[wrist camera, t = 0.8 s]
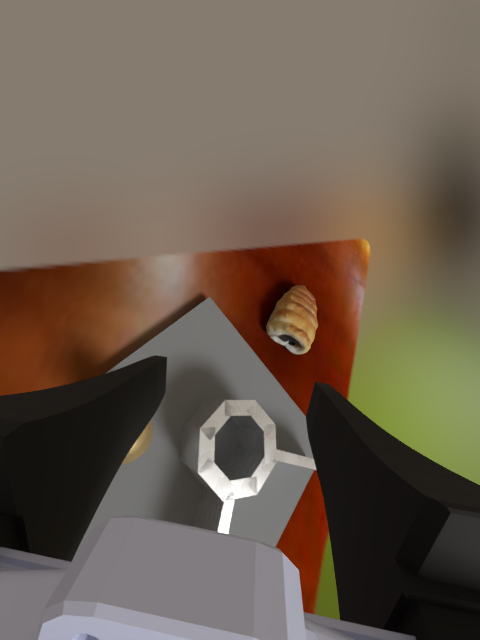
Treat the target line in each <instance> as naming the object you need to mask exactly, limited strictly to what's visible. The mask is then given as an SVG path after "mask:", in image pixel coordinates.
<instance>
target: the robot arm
mask: <svg viewBox="0 0 480 640" xmlns="http://www.w3.org/2000/svg"><path fill="white" fill-rule="evenodd" d="M166 372H167V357H163V356H157V355H154V356H151V357H148V358H145V359H142V360H140V361H137V362H135V363H132V364H130V365H127V366H125V367H122V368H120V369H117V370H114V371H111V372H109V373H106V374H103V375H100V376H97V377H94V378H91V379H87V380H84V381H80V382H76V383H72V384H68V385H64V386H59V387H54V388H49V389H44V390H39V391H33V392H26V393H19V394H12V395H4V396H0V640H480V485H478V484H476V483H474V482H472V481H470V480H468V479H466V478H464V477H462V476H460V475H458V474H456V473H454V472H452V471H450V470H448V469H447V468H445V467H443V466H441V465H439V464H437V463H435V462H434V461H432V460H430V459H429V458H427V457H425V456H423V455H422V454H420V453H418V452H417V451H415V450H413V449H412V448H410V447H409V446H407V445H405V444H404V443H402V442H401V441H399V440H398V439H396V438H395V437H393V436H392V435H390V434H389V433H387V432H386V431H385V430H383V429H382V428H380V427H379V426H378V425H377V424H376V423H374V422H373V421H372V420H370V419H369V418H368V417H367V416H365V415H364V414H363V413H362V412H361V411H359V410H358V409H357V408H356V407H355V406H353V405H352V404H351V403H350V402H349V401H348V400H347V399H345V398H344V397H343V396H342V395H341V394H340V393H339V392H337V391H336V390H335V389H334V388H333V387H331V386H330V385H329V384H324V383H318V382H315V385H314V389H313V392H312V396H311V400H310V404H309V408H308V412H307V416H306V423H307V432H308V439H309V443H310V447H311V450H312V454H313V458H314V462H315V466H316V469H317V473H318V477H319V481H320V484H321V488H322V493H323V497H324V503H325V509H326V515H327V521H328V527H329V534H330V541H331V547H332V555H333V562H334V570H335V578H336V586H337V594H338V603H339V612H340V620H337V619H332V618H328V617H323V616H318V615H314V614H309V613H305V612H303V605H302V596H301V586H300V577H299V570H298V569H297V568H296V567H295V566H294V565H293V563H292V562H291V561H290V560H289V559H288V558H287V557H286V556H285V555H284V554H283V553H282V552H281V551H280V550H279V549H278V548H275V547H273V546H270V545H268V544H265V543H263V542H261V541H258V540H256V539H251V538H246V537H241V536H236V535H231V534H226V533H221V532H217V531H212V530H207V529H202V528H197V527H192V526H187V525H182V524H177V523H172V522H167V521H162V520H158V519H153V518H148V517H143V516H115V517H112V518H110V519H108V520H106V521H104V522H102V523H100V524H99V525H97V526H95V527H93V529H92V530H91V532H90V534H89V535H88V537H87V538H86V540H85V542H84V543H83V545H82V547H81V548H80V550H79V552H78V553H77V555H76V556H75V554H76V552H77V549H78V547H79V545H80V543H81V541H82V539H83V537H84V535H85V533H86V531H87V529H88V527H89V525H90V523H91V521H92V519H93V517H94V515H95V513H96V511H97V509H98V507H99V505H100V503H101V501H102V499H103V497H104V495H105V494H106V492H107V490H108V488H109V486H110V484H111V482H112V480H113V478H114V477H115V475H116V473H117V471H118V469H119V468H120V466H121V464H122V462H123V460H124V459H125V457H126V456H127V454H128V452H129V451H130V449H131V448H132V446H133V445H134V444H135V442H136V441H137V439H138V438H139V436H140V435H141V433H142V432H143V430H144V429H145V428H146V426H147V425H148V423H149V422H150V420H151V419H152V417H153V416H154V414H155V413H156V411H157V409H158V407H159V405H160V404H161V402H162V399H163V397H164V395H165V392H166ZM74 556H75V558H74ZM73 558H74V560H73ZM72 560H73V561H72Z"/></svg>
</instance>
